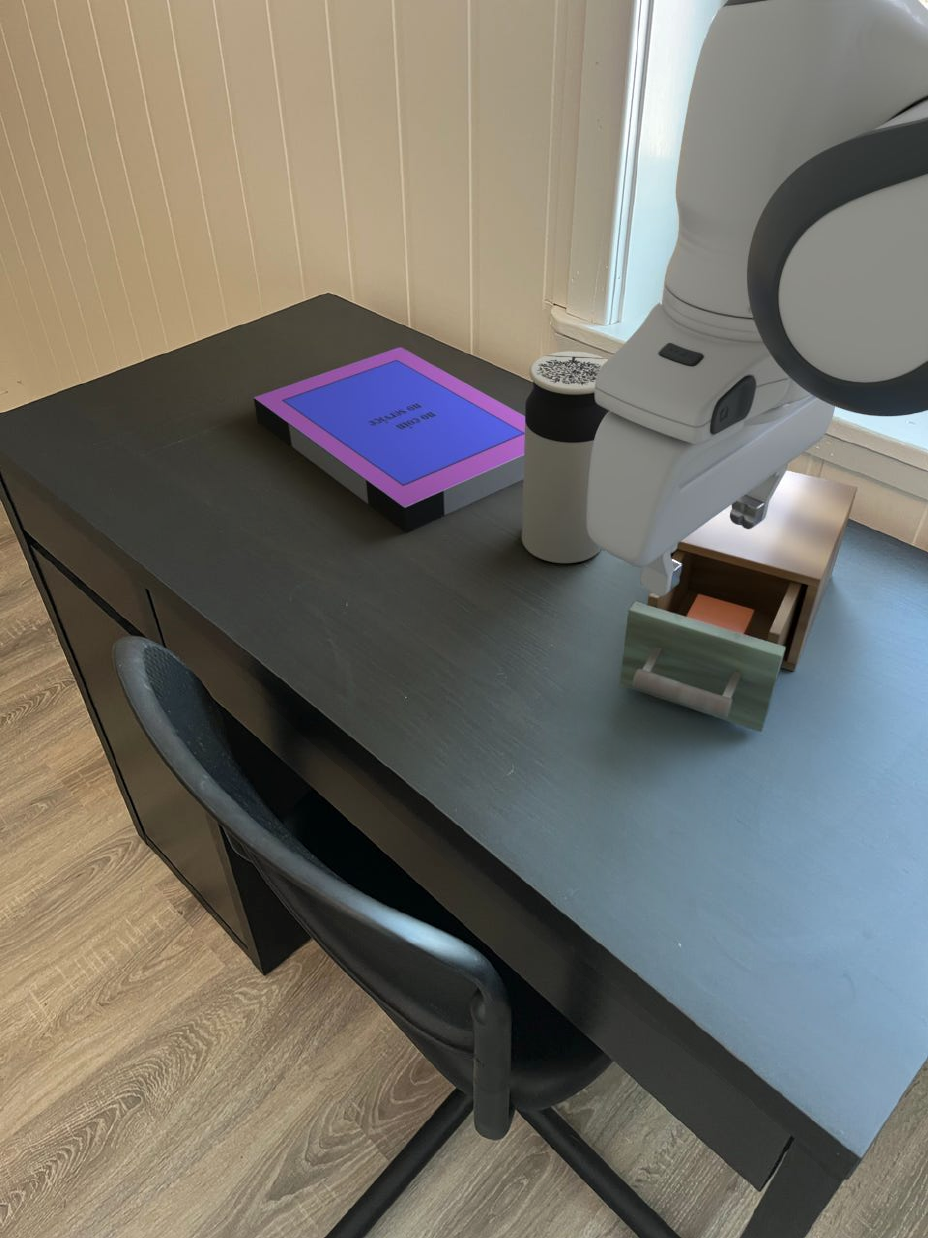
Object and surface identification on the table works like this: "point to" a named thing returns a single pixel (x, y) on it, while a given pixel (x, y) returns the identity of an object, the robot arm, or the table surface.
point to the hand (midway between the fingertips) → (704, 553)
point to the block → (721, 614)
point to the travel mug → (560, 455)
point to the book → (400, 435)
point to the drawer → (712, 641)
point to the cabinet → (786, 543)
